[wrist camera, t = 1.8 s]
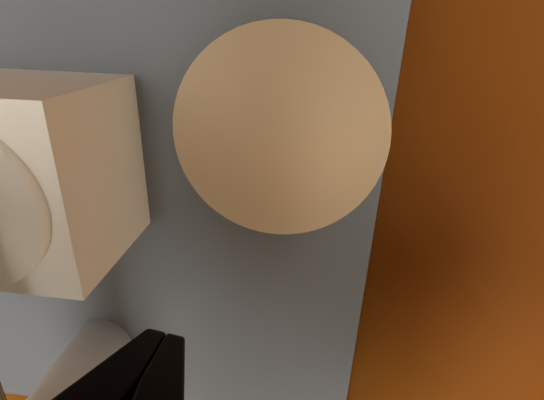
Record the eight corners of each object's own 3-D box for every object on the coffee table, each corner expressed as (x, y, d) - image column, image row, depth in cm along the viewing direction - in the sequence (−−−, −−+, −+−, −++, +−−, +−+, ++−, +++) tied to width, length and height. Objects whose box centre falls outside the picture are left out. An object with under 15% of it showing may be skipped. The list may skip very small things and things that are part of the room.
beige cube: (-21, 66, 13) (-202, 90, 9) (133, 74, 13) (29, 104, 8) (18, 211, 15) (-110, 290, 11) (150, 222, 15) (75, 310, 10)
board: (-184, -30, 14) (-635, -76, 7) (405, -14, 12) (506, -56, 5) (-27, 367, 22) (-175, 514, 15) (339, 414, 20) (347, 603, 13)
